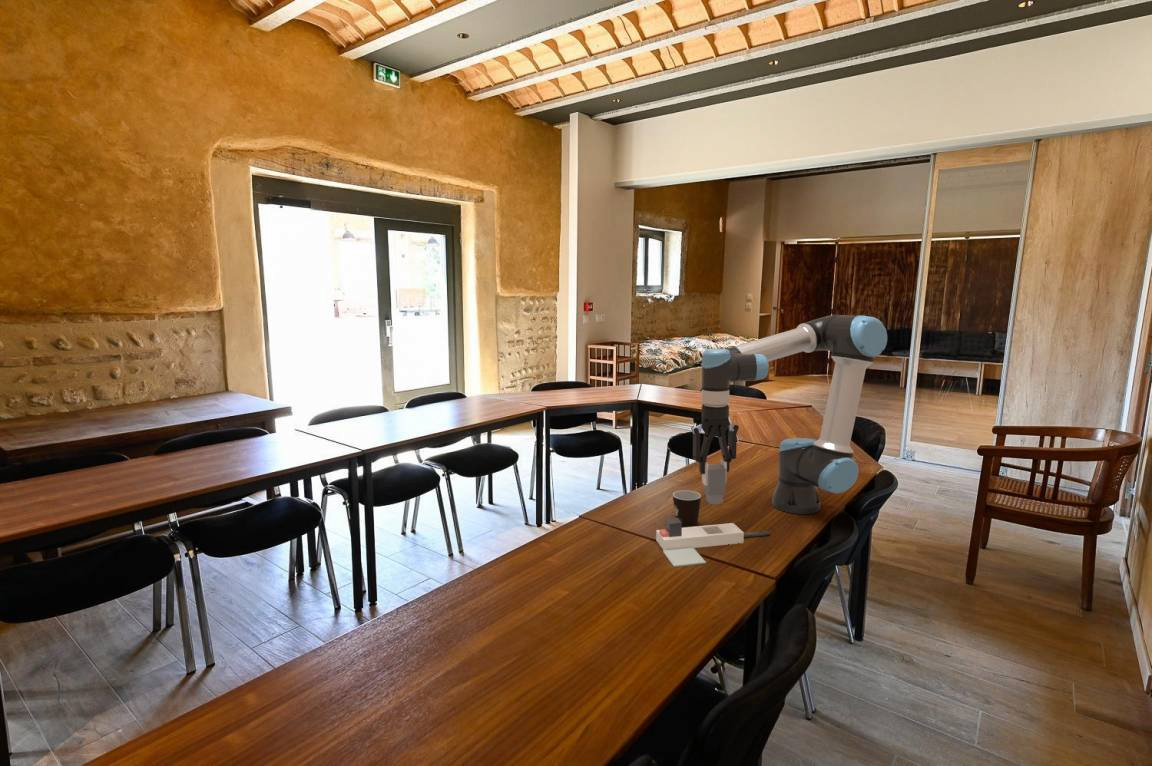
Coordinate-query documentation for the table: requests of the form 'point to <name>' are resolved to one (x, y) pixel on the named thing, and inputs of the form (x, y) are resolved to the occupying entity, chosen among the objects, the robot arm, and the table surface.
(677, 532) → the strip
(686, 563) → the pad
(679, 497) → the coffee mug
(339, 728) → the table surface
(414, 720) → the table surface
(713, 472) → the block
